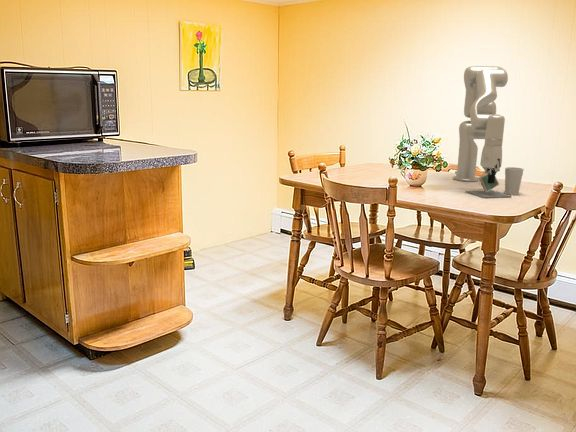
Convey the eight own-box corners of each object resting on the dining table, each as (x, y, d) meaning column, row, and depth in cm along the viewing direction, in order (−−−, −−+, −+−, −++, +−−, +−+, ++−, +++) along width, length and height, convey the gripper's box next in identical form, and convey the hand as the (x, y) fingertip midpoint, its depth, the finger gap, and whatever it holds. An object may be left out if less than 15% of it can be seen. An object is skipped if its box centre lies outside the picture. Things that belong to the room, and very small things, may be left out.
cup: (508, 195, 247) (511, 169, 244) (499, 192, 254) (501, 167, 252) (524, 195, 248) (527, 169, 246) (513, 191, 256) (516, 167, 253)
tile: (478, 177, 245) (490, 169, 246) (484, 191, 248) (496, 183, 248) (480, 178, 243) (492, 169, 244) (486, 192, 246) (499, 184, 247)
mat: (465, 192, 253) (465, 190, 253) (491, 191, 256) (491, 190, 256) (484, 198, 239) (484, 197, 239) (511, 197, 242) (511, 196, 242)
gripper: (476, 141, 249) (472, 180, 253) (496, 144, 234) (492, 185, 238) (490, 141, 250) (486, 180, 254) (511, 144, 236) (507, 185, 240)
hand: (489, 182), depth 246 cm, fingers closed on tile, 1 cm apart
